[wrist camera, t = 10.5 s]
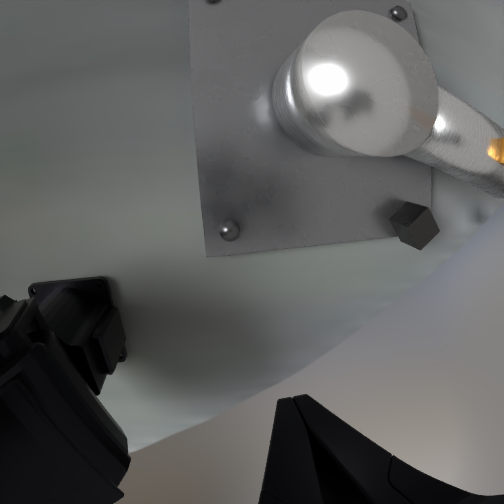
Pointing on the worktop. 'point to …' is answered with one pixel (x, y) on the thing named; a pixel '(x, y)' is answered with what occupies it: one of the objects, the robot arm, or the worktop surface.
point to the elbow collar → (382, 102)
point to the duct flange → (286, 140)
